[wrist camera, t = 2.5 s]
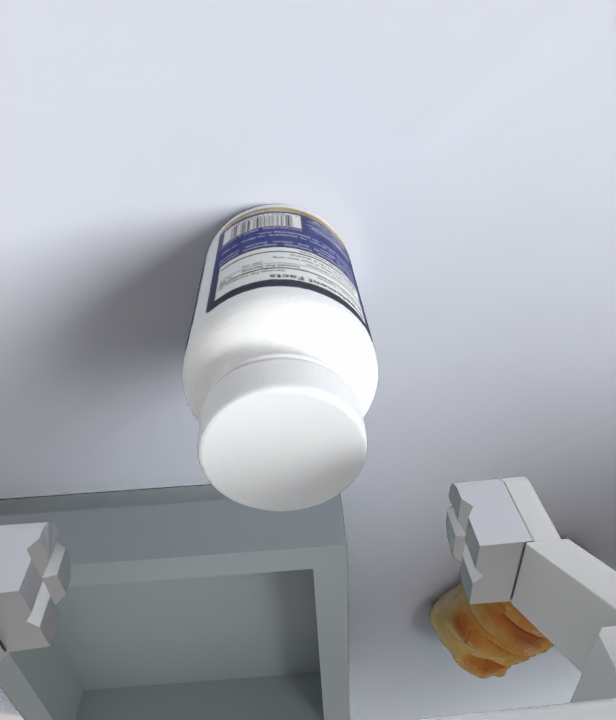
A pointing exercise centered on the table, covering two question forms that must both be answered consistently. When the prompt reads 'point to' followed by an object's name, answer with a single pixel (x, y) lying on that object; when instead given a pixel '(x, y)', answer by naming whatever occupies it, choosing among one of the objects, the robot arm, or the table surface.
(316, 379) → the pill bottle
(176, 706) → the tray
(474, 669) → the pastry
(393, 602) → the table surface
